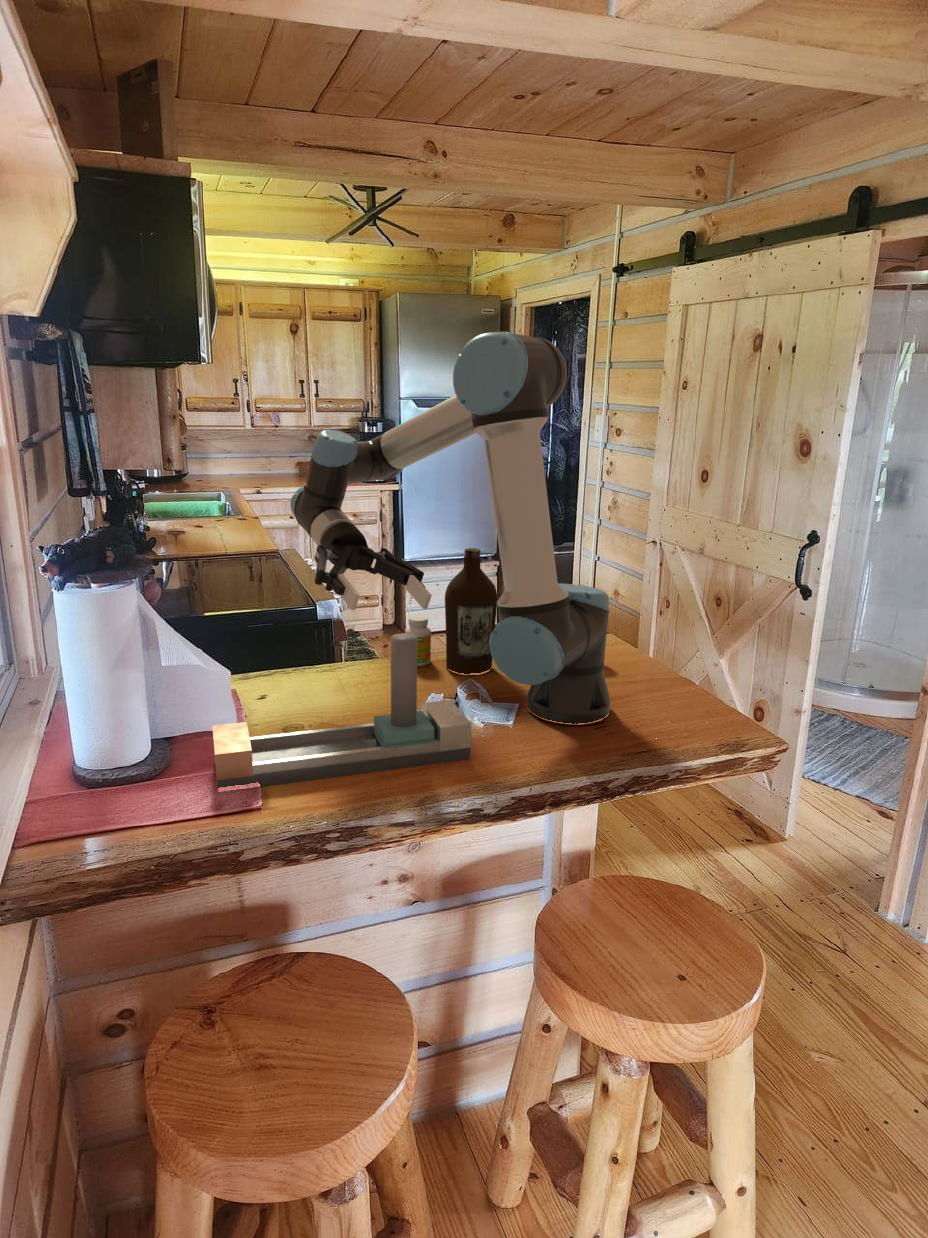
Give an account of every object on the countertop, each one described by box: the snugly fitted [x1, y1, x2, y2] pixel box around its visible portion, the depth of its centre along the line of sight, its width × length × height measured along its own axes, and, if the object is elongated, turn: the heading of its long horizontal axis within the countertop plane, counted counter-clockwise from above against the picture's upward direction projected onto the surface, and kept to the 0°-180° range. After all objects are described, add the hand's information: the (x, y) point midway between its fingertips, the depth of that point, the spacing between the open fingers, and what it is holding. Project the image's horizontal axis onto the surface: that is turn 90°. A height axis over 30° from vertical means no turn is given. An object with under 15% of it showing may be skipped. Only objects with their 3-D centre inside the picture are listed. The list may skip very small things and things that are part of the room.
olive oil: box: [444, 547, 499, 674], centre depth 159 cm, size 11×11×25 cm
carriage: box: [373, 633, 435, 746], centre depth 122 cm, size 8×7×17 cm
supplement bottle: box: [404, 615, 432, 667], centre depth 164 cm, size 5×5×10 cm
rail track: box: [211, 699, 472, 788], centre depth 122 cm, size 38×10×6 cm, turn 109°
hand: (392, 602), depth 127 cm, fingers open, 13 cm apart
